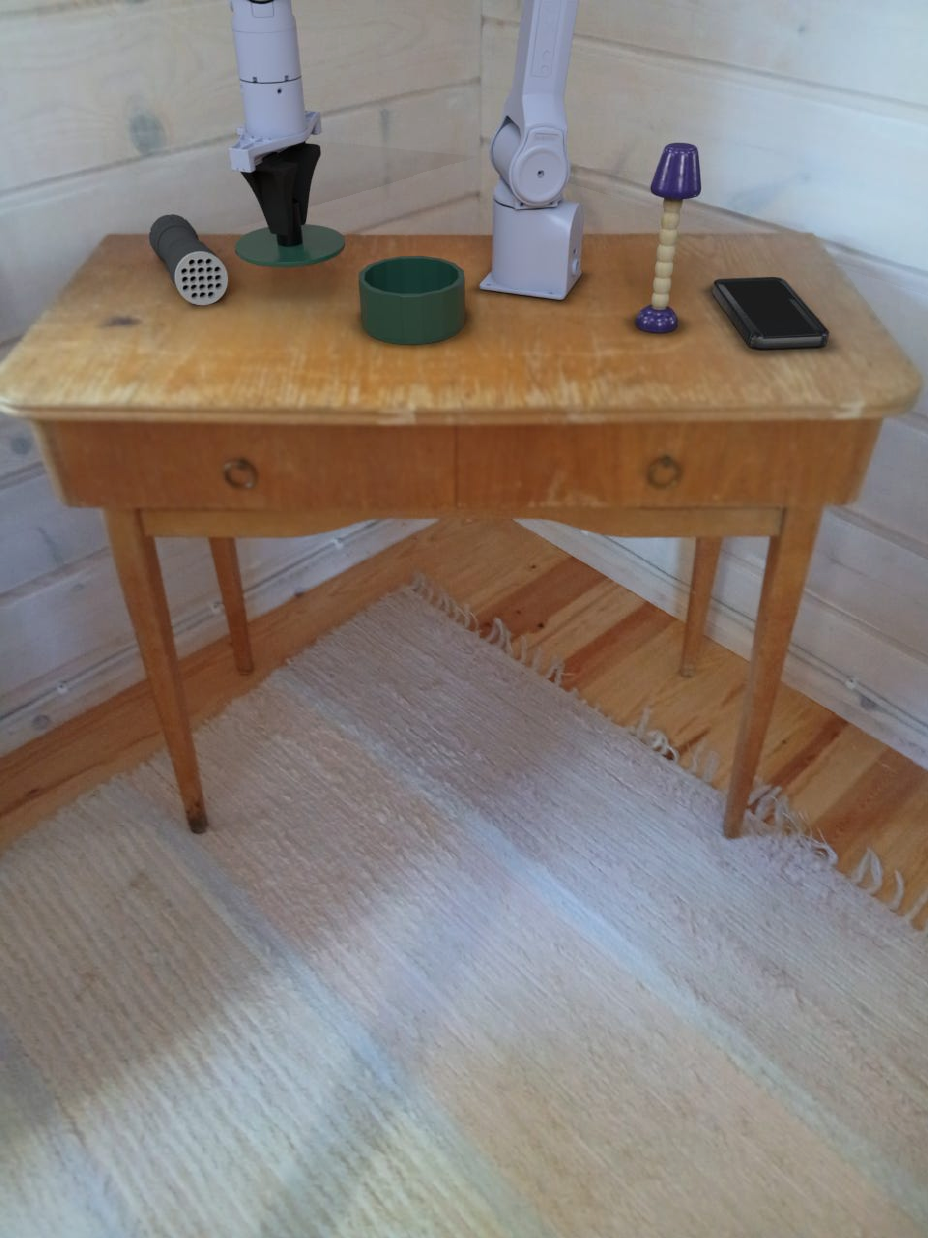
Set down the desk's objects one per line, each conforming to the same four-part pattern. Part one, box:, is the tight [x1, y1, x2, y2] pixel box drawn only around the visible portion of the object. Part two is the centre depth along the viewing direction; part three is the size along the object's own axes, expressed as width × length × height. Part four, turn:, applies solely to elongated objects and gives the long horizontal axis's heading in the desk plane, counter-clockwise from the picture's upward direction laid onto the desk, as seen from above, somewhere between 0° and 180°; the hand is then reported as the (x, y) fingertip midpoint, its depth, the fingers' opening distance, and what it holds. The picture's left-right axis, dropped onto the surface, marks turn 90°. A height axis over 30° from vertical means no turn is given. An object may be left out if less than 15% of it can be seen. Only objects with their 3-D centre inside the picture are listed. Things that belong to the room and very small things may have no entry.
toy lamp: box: [634, 142, 702, 334], centre depth 91 cm, size 5×5×17 cm
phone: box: [711, 276, 830, 350], centre depth 97 cm, size 8×1×15 cm
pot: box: [358, 255, 466, 346], centre depth 96 cm, size 10×10×5 cm
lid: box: [234, 198, 346, 269], centre depth 96 cm, size 11×11×5 cm
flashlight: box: [148, 213, 229, 306], centre depth 104 cm, size 15×5×5 cm, turn 26°
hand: (288, 228), depth 96 cm, fingers closed on lid, 2 cm apart
